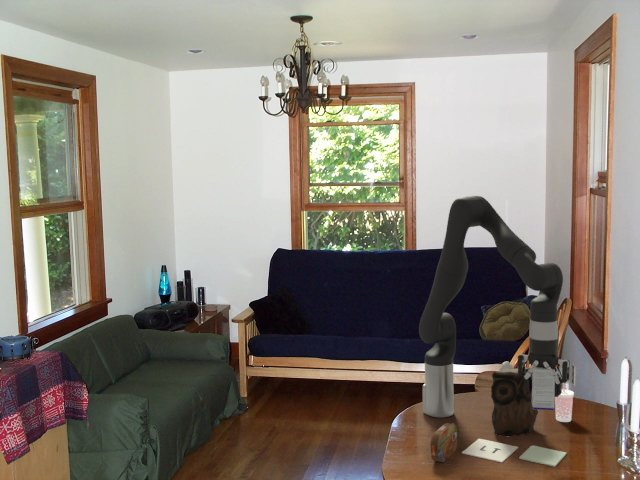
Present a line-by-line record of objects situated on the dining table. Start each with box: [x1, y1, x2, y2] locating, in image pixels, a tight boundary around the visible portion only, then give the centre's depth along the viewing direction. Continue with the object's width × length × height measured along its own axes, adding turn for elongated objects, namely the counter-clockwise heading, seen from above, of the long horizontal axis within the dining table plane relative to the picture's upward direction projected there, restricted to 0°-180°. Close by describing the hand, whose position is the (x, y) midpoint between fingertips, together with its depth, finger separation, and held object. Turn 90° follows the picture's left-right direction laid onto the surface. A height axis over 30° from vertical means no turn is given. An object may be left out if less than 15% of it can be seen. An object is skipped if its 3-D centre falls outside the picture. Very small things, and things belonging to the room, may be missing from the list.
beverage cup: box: [554, 383, 575, 423], centre depth 232 cm, size 6×6×14 cm
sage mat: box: [518, 445, 568, 468], centre depth 205 cm, size 10×10×1 cm
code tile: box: [461, 438, 519, 463], centre depth 210 cm, size 12×12×1 cm
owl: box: [490, 366, 539, 438], centre depth 223 cm, size 13×13×20 cm
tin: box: [430, 422, 459, 463], centre depth 207 cm, size 15×3×8 cm, turn 148°
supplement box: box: [532, 367, 555, 411], centre depth 203 cm, size 6×6×12 cm
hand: (543, 393), depth 203 cm, fingers closed on supplement box, 7 cm apart
